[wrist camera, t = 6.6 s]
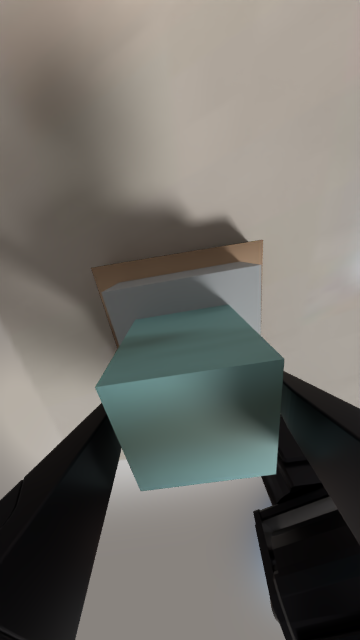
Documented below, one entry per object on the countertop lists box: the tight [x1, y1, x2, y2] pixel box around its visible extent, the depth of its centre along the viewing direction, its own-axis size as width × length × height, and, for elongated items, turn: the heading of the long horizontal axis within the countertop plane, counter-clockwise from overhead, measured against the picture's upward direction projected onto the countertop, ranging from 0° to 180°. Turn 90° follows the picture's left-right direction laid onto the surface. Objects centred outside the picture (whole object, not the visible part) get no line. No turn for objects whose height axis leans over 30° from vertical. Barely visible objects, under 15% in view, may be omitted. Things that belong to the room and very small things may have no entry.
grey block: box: [101, 262, 261, 346], centre depth 11 cm, size 8×8×3 cm
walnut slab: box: [91, 240, 263, 348], centre depth 14 cm, size 11×11×3 cm
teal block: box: [95, 304, 284, 491], centre depth 8 cm, size 5×5×5 cm
